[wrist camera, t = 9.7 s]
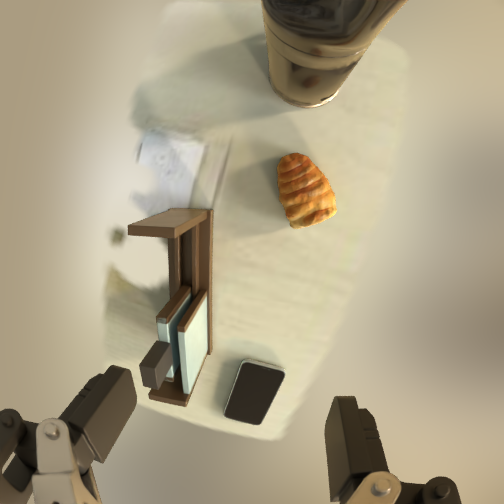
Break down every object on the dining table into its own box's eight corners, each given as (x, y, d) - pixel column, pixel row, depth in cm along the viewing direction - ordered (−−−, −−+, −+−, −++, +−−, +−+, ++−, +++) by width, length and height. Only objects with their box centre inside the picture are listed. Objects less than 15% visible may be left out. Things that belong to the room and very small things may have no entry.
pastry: (264, 165, 36) (262, 163, 32) (312, 145, 35) (315, 142, 31) (292, 231, 38) (294, 237, 34) (339, 211, 37) (346, 215, 33)
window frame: (213, 209, 38) (180, 227, 25) (212, 349, 44) (190, 408, 31) (171, 207, 39) (123, 224, 26) (176, 344, 44) (145, 398, 31)
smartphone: (221, 416, 47) (242, 359, 43) (222, 413, 48) (243, 356, 44) (260, 426, 47) (287, 371, 43) (260, 423, 48) (287, 368, 43)
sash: (194, 285, 39) (151, 342, 25) (195, 341, 42) (162, 409, 27) (181, 283, 39) (134, 339, 25) (184, 339, 42) (147, 405, 27)
